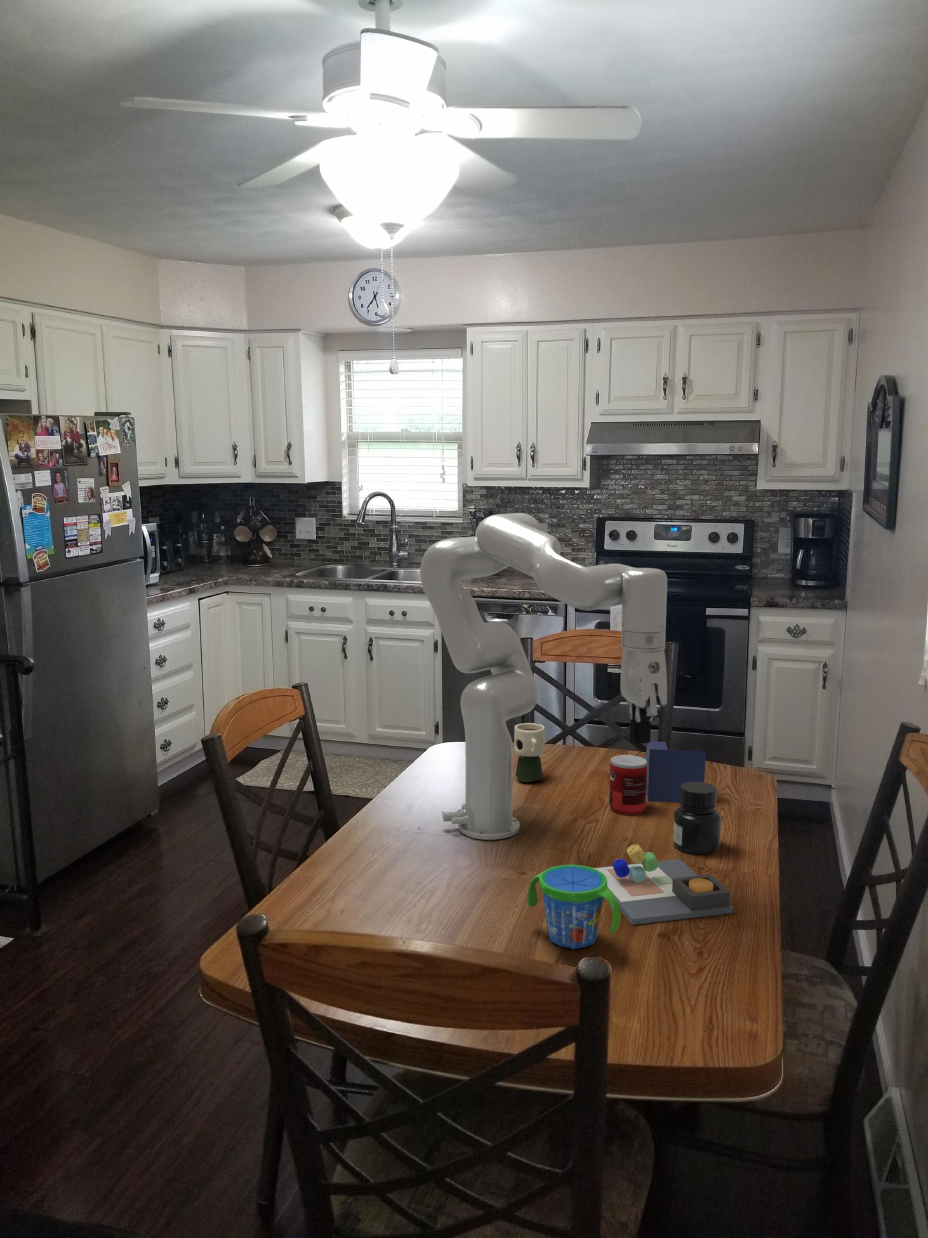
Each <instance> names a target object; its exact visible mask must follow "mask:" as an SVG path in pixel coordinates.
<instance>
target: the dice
mask: <svg viewBox="0 0 928 1238" xmlns="http://www.w3.org/2000/svg"><path fill="white" fill-rule="evenodd" d="M626 854H627V856H628V857H629V859H630V861H631V863H632V864H639V863H642V865H643V867H644V868H643V867H641V866H632V867H630V868H629V867H628V865H627V864H628V863H627V861H626V860H625V859H623V858H618V859H616V860H614V862H613V863H612V866H613V868H614V871H615V873H616V875H617V876H618V877H620V878H623V877H626V876H628V874H629V878H630V880H631V881H632V882H635V883H642V882H643V881H645V879H646V873H645V870H646V871H648V872H651V871H654V870H656V869H657V868H658V865H659V864H658V859H657V857H656V856H655V854H654V852H650V851H649V852H644V851H643V849H642V847H641V846H640V845H639V844H636V843H635V844H631V845H630V846H628V848H627V849H626ZM644 869H645V870H644Z"/></svg>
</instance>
